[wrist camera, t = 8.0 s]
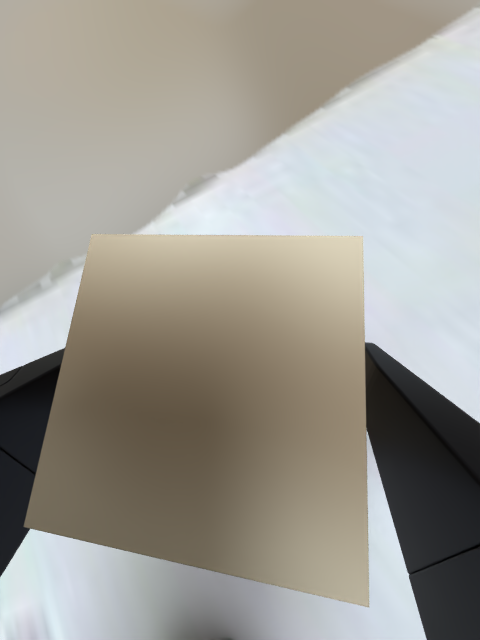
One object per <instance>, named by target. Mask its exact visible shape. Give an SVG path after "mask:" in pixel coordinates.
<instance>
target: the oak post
mask: <svg viewBox="0 0 480 640" xmlns="http://www.w3.org/2000/svg"><path fill="white" fill-rule="evenodd" d="M24 527H26V528H31V529H35V530H39V531H43V532H48V533H52V534H56V535H61V536H65V537H69V538H73V539H78V540H82V541H86V542H91V543H95V544H99V545H103V546H108V547H112V548H116V549H121V550H125V551H129V552H133V553H138V554H142V555H146V556H151V557H155V558H159V559H163V560H168V561H172V562H176V563H181V564H185V565H189V566H194V567H198V568H202V569H206V570H211V571H215V572H219V573H224V574H228V575H232V576H236V577H241V578H245V579H249V580H254V581H258V582H262V583H266V584H271V585H275V586H279V587H284V588H288V589H292V590H296V591H301V592H305V593H309V594H314V595H318V596H322V597H326V598H331V599H335V600H339V601H344V602H348V603H352V604H357V605H361V606H365V607H369V564H368V506H367V447H366V388H365V329H364V271H363V236H267V235H123V234H118V235H117V234H92V235H91V240H90V244H89V248H88V252H87V257H86V261H85V265H84V270H83V274H82V278H81V283H80V287H79V291H78V295H77V300H76V304H75V308H74V313H73V317H72V321H71V326H70V330H69V334H68V338H67V343H66V347H65V351H64V356H63V360H62V364H61V368H60V373H59V377H58V381H57V386H56V390H55V394H54V399H53V403H52V407H51V411H50V416H49V420H48V424H47V429H46V433H45V437H44V441H43V446H42V450H41V454H40V459H39V463H38V467H37V472H36V476H35V480H34V484H33V489H32V493H31V497H30V502H29V506H28V510H27V515H26V519H25V523H24Z"/></svg>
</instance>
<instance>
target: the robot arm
mask: <svg viewBox="0 0 480 640" xmlns="http://www.w3.org/2000/svg"><path fill="white" fill-rule="evenodd" d="M64 351H65V348H64V349H61V350H59V351H57V352H54V353H52V354H49V355H47V356H45V357H42V358H40V359H37V360H35V361H33V362H30V363H28V364H26V365H24V366H21V367H18V368H16V369H14V370H11V371H9V372H6V373H4V374H1V375H0V577H1V575H2V574H3V572H4V571H5V569H6V567H7V566H8V564H9V562H10V561H11V559H12V558H13V556H14V554H15V553H16V551H17V549H18V548H19V546H20V544H21V543H22V541H23V540H24V538H25V536H26V535H27V533H28V531H29V530H30V528H26V527H24V523H25V519H26V515H27V510H28V506H29V502H30V497H31V493H32V489H33V484H34V480H35V476H36V472H37V467H38V463H39V459H40V454H41V450H42V446H43V441H44V437H45V433H46V429H47V424H48V420H49V416H50V411H51V407H52V403H53V399H54V394H55V390H56V386H57V381H58V377H59V373H60V368H61V364H62V360H63V356H64ZM365 388H366V428H367V432H368V435H369V439H370V442H371V446H372V449H373V453H374V456H375V460H376V463H377V467H378V470H379V474H380V477H381V481H382V484H383V488H384V491H385V495H386V498H387V501H388V505H389V508H390V512H391V515H392V519H393V522H394V526H395V529H396V533H397V536H398V540H399V543H400V547H401V550H402V554H403V557H404V561H405V564H406V568H407V571H408V573H409V574H410V575H409V579H410V583H411V586H412V590H413V593H414V597H415V600H416V604H417V607H418V611H419V614H420V618H421V621H422V625H423V628H424V632H425V635H426V638H427V640H480V423H479V422H477V421H476V420H475V419H473V418H472V417H471V416H469V415H468V414H467V413H465V412H464V411H463V410H461V409H460V408H459V407H457V406H456V405H455V404H453V403H452V402H451V401H449V400H448V399H447V398H445V397H444V396H443V395H441V394H440V393H439V392H437V391H436V390H435V389H434V388H432V387H431V386H430V385H428V384H427V383H426V382H424V381H423V380H422V379H420V378H419V377H418V376H416V375H415V374H414V373H412V372H411V371H410V370H408V369H407V368H406V367H404V366H403V365H402V364H400V363H399V362H398V361H396V360H395V359H394V358H392V357H391V356H390V355H388V354H387V353H386V352H384V351H383V350H382V349H381V348H379V347H378V346H377V345H375V344H374V343H366V342H365Z"/></svg>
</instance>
